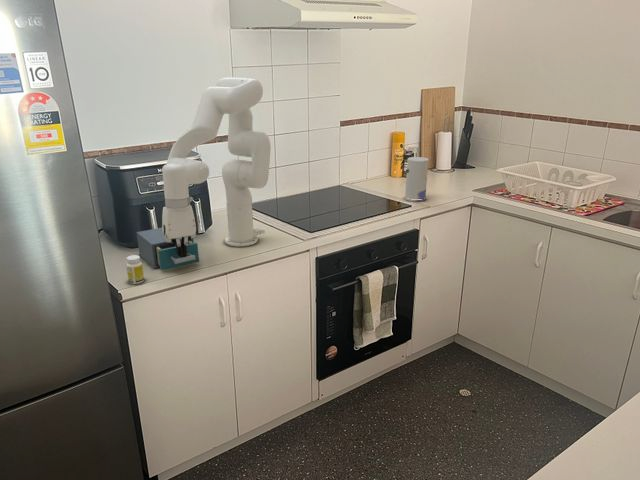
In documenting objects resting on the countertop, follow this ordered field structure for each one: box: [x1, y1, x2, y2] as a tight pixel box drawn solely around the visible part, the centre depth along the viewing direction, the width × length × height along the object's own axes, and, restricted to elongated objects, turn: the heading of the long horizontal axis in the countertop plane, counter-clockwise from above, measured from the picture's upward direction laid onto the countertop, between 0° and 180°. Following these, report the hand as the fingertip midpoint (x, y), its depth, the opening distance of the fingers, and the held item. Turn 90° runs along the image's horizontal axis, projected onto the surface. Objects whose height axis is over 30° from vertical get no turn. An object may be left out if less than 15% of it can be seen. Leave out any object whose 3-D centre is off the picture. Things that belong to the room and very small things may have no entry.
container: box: [404, 156, 430, 203], centre depth 268 cm, size 10×10×20 cm
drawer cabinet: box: [136, 227, 195, 270], centre depth 196 cm, size 16×15×9 cm
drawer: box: [155, 241, 200, 271], centre depth 190 cm, size 20×14×7 cm
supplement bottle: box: [126, 254, 145, 285], centre depth 176 cm, size 5×5×8 cm
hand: (182, 256), depth 184 cm, fingers closed
